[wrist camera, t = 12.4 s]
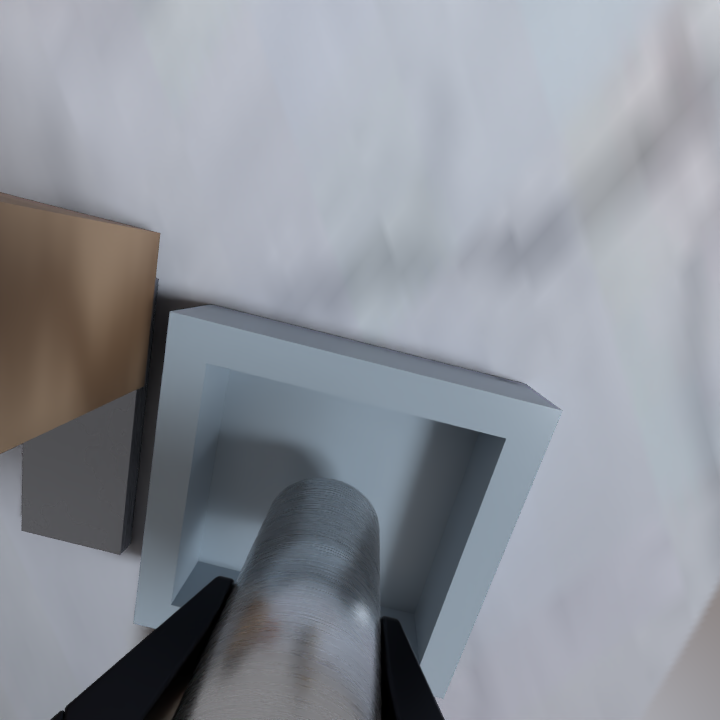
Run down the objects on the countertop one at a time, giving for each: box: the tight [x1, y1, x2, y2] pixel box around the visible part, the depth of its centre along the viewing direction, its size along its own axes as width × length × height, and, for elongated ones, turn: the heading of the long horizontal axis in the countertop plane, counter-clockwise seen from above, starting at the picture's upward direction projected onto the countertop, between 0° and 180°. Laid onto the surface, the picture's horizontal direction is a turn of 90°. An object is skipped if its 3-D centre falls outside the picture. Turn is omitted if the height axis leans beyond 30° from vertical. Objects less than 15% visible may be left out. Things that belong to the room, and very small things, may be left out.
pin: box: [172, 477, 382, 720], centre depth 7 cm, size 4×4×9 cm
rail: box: [22, 278, 159, 555], centre depth 13 cm, size 11×4×1 cm, turn 166°
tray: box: [134, 304, 562, 699], centre depth 12 cm, size 11×11×2 cm
